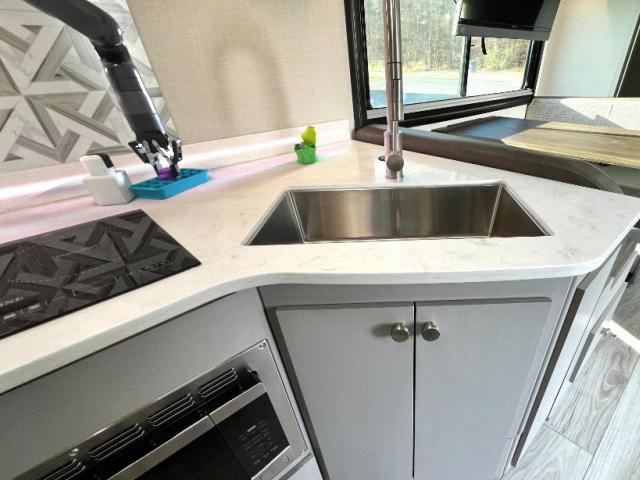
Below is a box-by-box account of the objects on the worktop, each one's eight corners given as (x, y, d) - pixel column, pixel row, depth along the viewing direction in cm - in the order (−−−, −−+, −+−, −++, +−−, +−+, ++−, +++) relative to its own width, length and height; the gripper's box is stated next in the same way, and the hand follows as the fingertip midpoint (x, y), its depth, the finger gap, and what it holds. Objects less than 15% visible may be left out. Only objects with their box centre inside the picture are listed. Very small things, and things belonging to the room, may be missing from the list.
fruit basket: (297, 158, 121) (289, 125, 114) (320, 156, 122) (314, 123, 115) (297, 165, 112) (289, 130, 105) (322, 163, 114) (316, 128, 107)
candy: (158, 181, 91) (154, 172, 89) (172, 174, 96) (168, 166, 95) (169, 181, 91) (165, 172, 89) (181, 174, 96) (178, 165, 95)
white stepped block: (112, 197, 90) (85, 152, 83) (139, 195, 91) (115, 150, 84) (97, 206, 85) (67, 158, 77) (126, 203, 86) (99, 156, 78)
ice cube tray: (214, 179, 102) (211, 169, 100) (162, 201, 86) (157, 190, 85) (185, 177, 104) (181, 167, 103) (130, 198, 89) (124, 187, 87)
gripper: (103, 114, 80) (139, 182, 91) (158, 111, 80) (188, 180, 91) (123, 110, 86) (154, 175, 97) (174, 108, 86) (200, 173, 96)
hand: (170, 177), depth 93 cm, fingers open, 3 cm apart
